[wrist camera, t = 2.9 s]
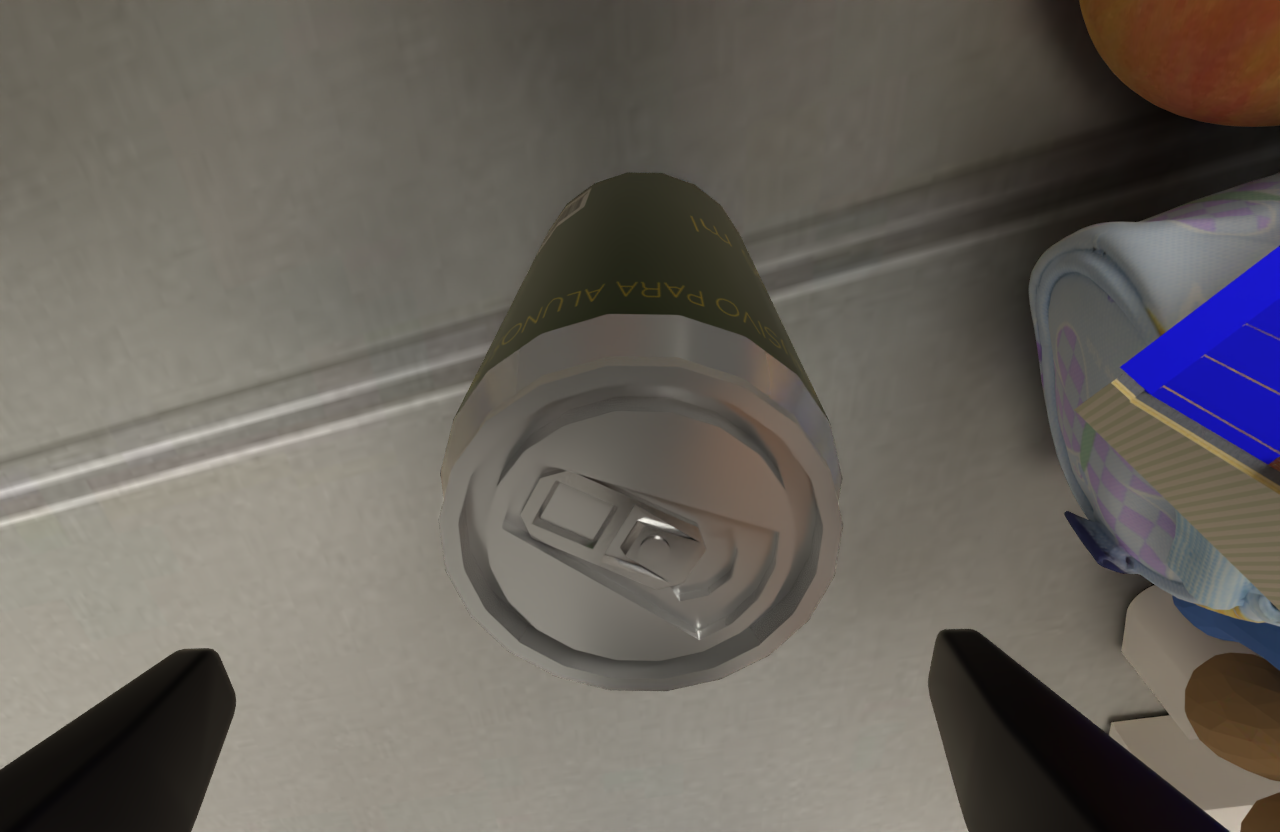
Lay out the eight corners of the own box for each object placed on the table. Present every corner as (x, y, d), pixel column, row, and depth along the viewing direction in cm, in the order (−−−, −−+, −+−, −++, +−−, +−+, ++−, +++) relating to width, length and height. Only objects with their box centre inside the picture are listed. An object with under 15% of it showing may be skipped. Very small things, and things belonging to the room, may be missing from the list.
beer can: (511, 311, 20) (361, 617, 9) (597, 126, 18) (526, 254, 7) (682, 393, 21) (718, 750, 11) (782, 229, 19) (955, 470, 8)
